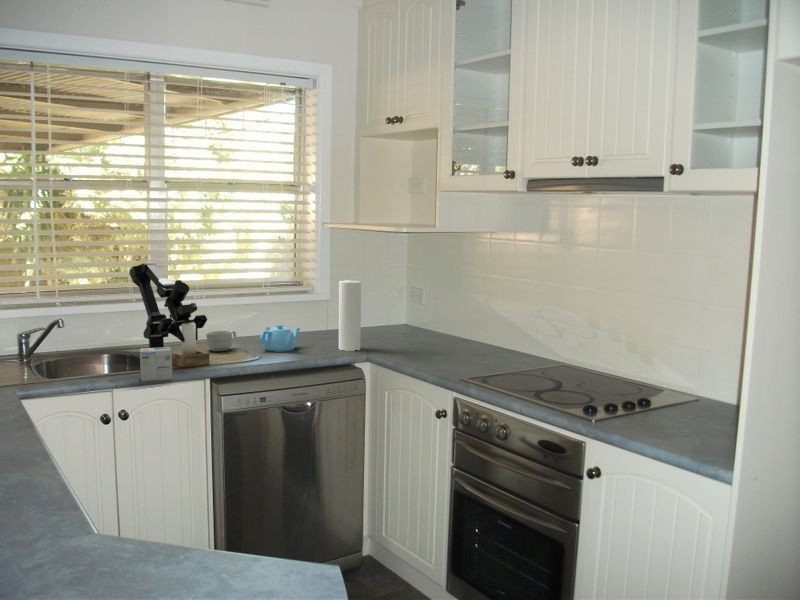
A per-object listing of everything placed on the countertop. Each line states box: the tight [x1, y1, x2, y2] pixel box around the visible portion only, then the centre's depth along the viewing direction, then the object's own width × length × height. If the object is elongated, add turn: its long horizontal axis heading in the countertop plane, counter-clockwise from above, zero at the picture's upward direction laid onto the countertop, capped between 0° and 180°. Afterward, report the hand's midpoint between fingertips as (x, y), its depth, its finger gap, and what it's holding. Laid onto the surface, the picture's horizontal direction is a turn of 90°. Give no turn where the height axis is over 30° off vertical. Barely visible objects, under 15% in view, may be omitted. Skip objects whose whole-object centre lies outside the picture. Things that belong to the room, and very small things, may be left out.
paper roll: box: [181, 323, 197, 356], centre depth 296 cm, size 5×5×13 cm
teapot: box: [258, 324, 301, 353], centre depth 328 cm, size 15×15×11 cm
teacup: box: [205, 330, 237, 352], centre depth 325 cm, size 14×11×8 cm
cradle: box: [171, 349, 210, 368], centre depth 297 cm, size 12×10×4 cm
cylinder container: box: [338, 279, 362, 352], centre depth 330 cm, size 9×9×30 cm
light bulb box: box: [139, 346, 173, 382], centre depth 271 cm, size 11×7×11 cm, turn 111°
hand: (190, 340), depth 295 cm, fingers closed on paper roll, 5 cm apart
